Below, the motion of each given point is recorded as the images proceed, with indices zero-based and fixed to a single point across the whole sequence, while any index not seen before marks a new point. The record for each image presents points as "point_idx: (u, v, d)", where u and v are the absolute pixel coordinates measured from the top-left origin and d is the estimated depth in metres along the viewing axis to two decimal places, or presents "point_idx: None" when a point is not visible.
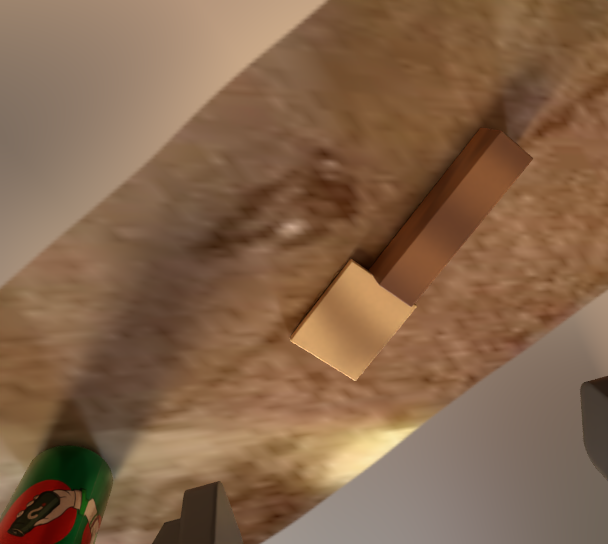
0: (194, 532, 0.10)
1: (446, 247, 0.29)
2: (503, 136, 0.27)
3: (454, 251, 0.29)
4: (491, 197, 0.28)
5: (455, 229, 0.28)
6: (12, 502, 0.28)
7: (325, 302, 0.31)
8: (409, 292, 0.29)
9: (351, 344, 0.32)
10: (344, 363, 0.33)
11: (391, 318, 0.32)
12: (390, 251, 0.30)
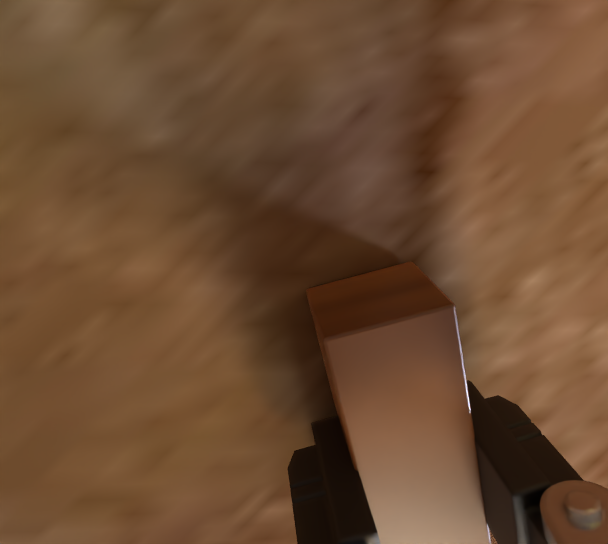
0: (332, 453, 0.11)
1: None
2: (340, 343, 0.09)
3: None
4: (452, 441, 0.10)
5: (446, 541, 0.11)
6: None
7: None
8: None
9: None
10: None
11: None
12: None
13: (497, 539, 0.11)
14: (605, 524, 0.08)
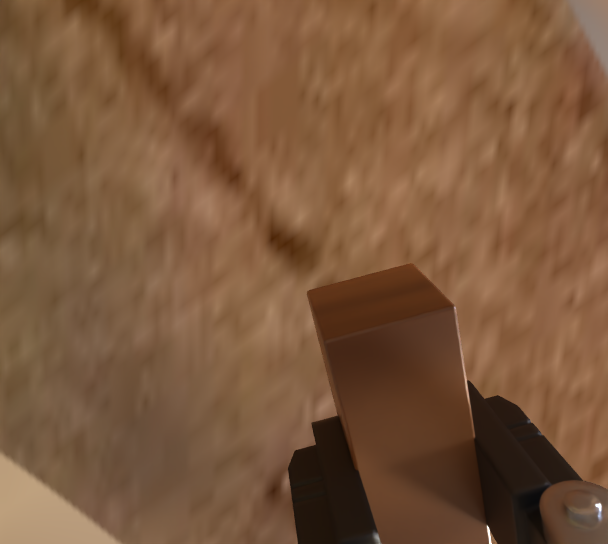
0: (333, 453, 0.11)
1: None
2: (341, 345, 0.09)
3: None
4: (452, 443, 0.10)
5: (447, 543, 0.11)
6: None
7: None
8: None
9: None
10: None
11: None
12: None
13: (497, 539, 0.11)
14: (604, 524, 0.08)
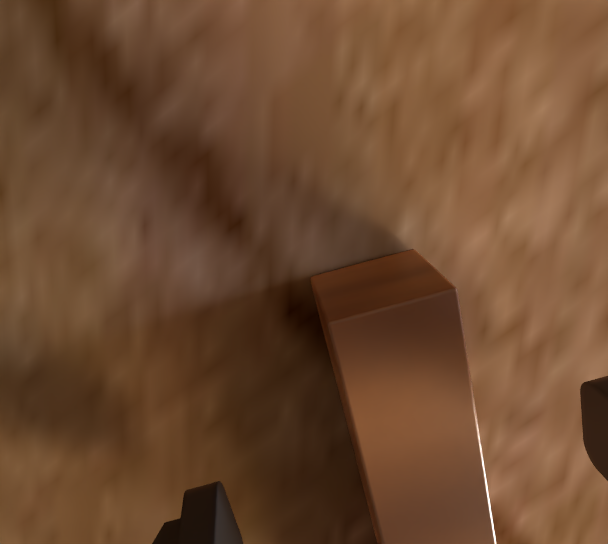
0: (194, 532, 0.10)
1: None
2: (344, 327, 0.09)
3: None
4: (454, 425, 0.10)
5: (450, 525, 0.11)
6: None
7: None
8: None
9: None
10: None
11: None
12: None
13: None
14: None
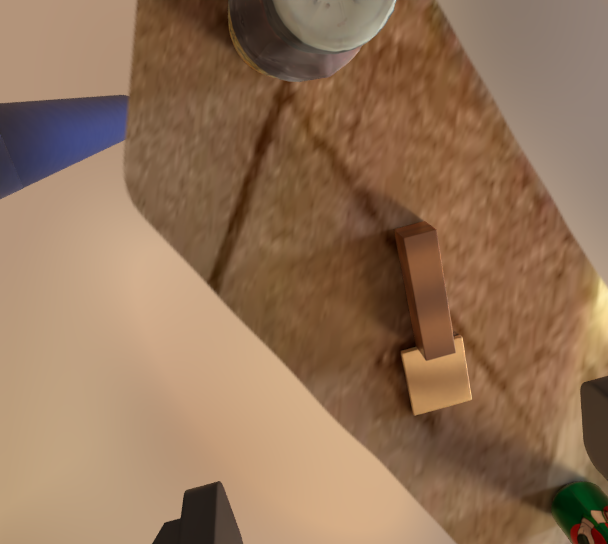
0: (194, 532, 0.10)
1: (440, 311, 0.39)
2: (407, 239, 0.37)
3: (447, 308, 0.39)
4: (436, 267, 0.38)
5: (435, 299, 0.39)
6: None
7: (411, 383, 0.43)
8: (446, 348, 0.40)
9: (448, 387, 0.44)
10: (455, 398, 0.44)
11: (455, 355, 0.43)
12: (415, 332, 0.42)
13: None
14: None
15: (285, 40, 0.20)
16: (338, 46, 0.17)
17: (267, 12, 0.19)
